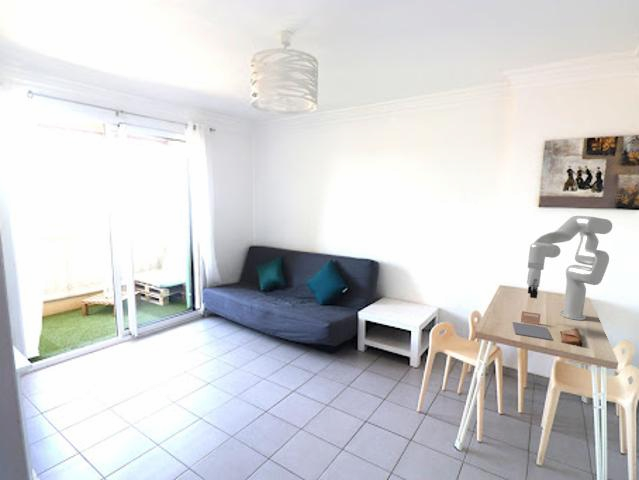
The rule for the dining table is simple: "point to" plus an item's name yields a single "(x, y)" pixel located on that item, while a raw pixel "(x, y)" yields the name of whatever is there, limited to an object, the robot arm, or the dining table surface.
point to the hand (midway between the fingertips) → (532, 295)
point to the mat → (531, 331)
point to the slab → (530, 317)
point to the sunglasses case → (571, 337)
